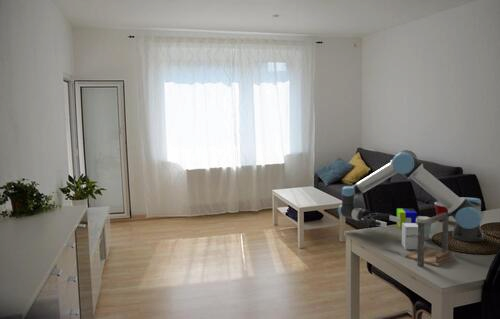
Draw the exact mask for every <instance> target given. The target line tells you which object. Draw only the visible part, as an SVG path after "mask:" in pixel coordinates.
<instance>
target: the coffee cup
mask: <svg viewBox="0 0 500 319" xmlns="http://www.w3.org/2000/svg"><path fill="white" fill-rule="evenodd" d="M429 218H431V217H429V216H426V215H424V216H423V215H422V216H421V215H417V218H416V224H417V225H418V223H419V222H421V221H424V220H426V219H429ZM431 228H432V224H430V225H427V226H425V227H424V241H427V240H430V234H431Z"/></svg>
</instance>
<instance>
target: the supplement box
mask: <svg viewBox="0 0 500 319" xmlns="http://www.w3.org/2000/svg"><path fill="white" fill-rule="evenodd" d="M401 246H402V247H403V249H404V250H417V249H418V225H417V224H416V223H402V228H401Z"/></svg>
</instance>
